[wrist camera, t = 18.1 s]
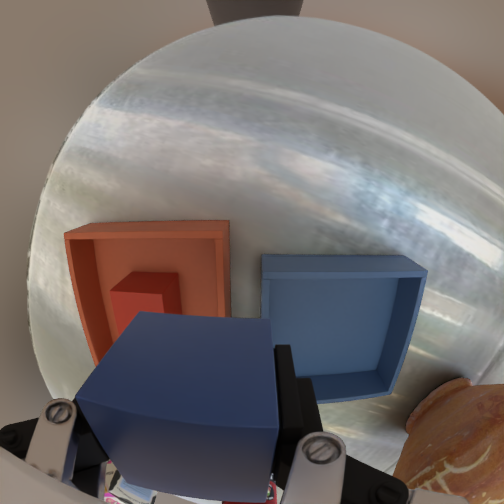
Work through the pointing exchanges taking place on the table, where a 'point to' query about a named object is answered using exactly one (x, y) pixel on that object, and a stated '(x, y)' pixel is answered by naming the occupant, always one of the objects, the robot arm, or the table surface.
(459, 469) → the jug
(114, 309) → the red block
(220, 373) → the blue block
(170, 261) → the rust bin
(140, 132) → the table surface
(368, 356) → the blue bin
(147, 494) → the candy bar box
